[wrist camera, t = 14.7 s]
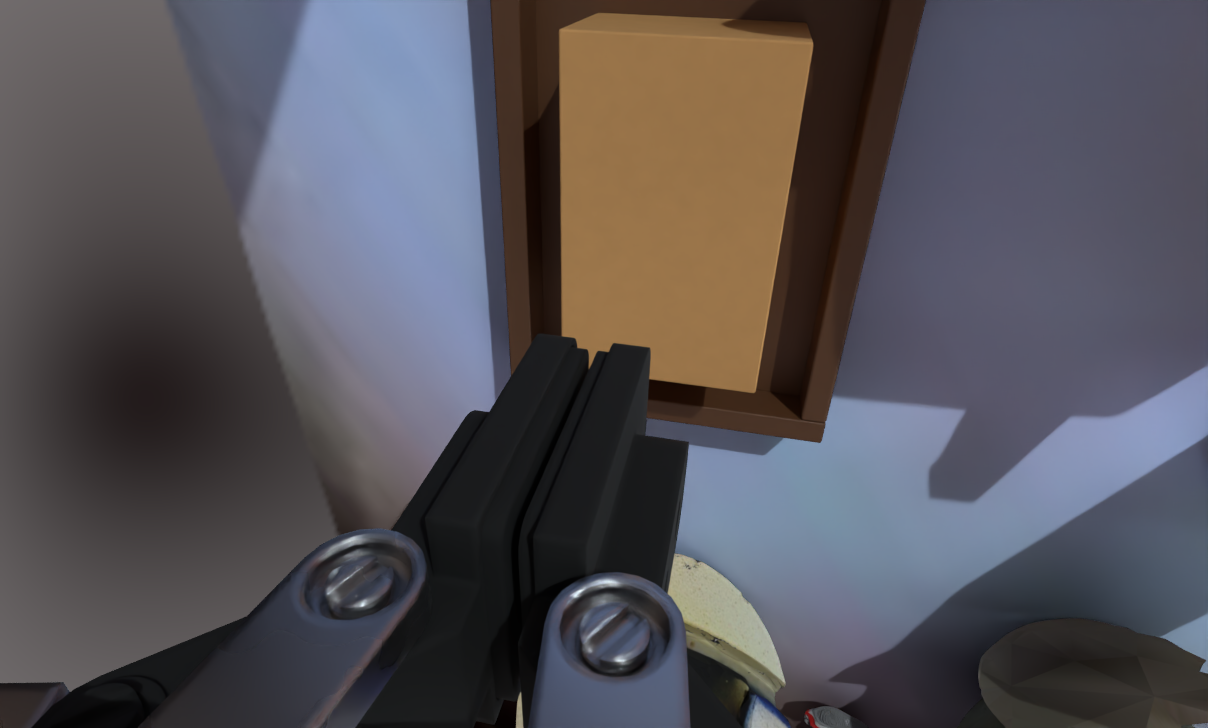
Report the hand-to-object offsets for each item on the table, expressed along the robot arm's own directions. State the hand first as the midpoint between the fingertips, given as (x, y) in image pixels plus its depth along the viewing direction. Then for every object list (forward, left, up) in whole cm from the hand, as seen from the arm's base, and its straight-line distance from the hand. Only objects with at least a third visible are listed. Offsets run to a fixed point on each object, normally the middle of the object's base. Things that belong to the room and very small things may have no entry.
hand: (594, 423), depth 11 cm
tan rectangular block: (0, 0, -12) cm, 12 cm away
